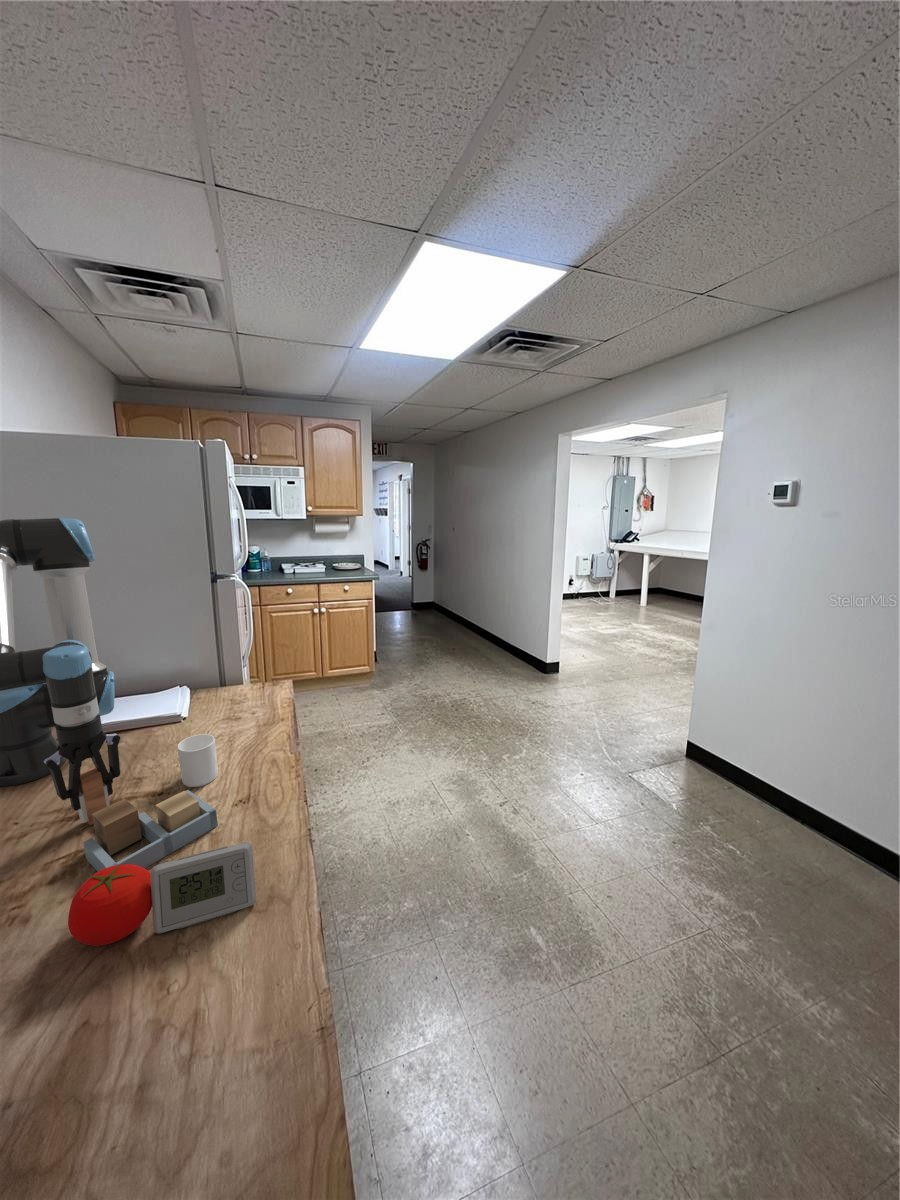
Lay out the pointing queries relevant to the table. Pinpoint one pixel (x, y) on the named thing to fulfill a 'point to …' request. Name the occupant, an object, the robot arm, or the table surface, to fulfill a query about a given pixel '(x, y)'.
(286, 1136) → the table surface
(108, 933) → the tomato
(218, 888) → the digital clock
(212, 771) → the cup
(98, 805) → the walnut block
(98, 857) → the lane shelf
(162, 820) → the oak block
